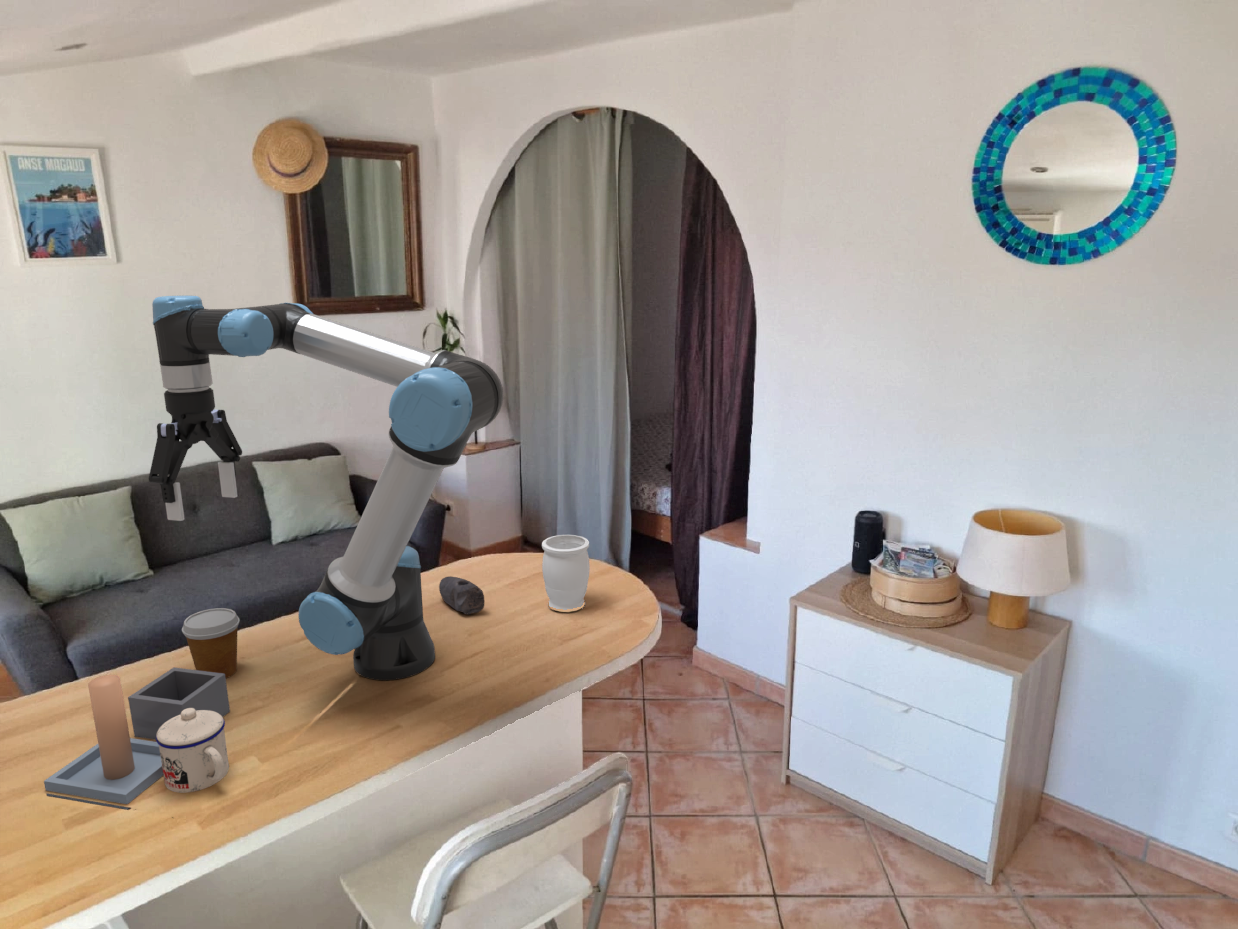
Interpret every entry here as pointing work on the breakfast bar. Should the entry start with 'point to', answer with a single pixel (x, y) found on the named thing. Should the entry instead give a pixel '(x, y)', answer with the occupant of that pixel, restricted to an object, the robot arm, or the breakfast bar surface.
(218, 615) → the disposable coffee cup
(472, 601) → the perforated stone tool
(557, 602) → the jar
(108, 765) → the dowel
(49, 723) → the breakfast bar surface
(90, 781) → the tray
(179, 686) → the open square box
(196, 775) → the teacup with lid
